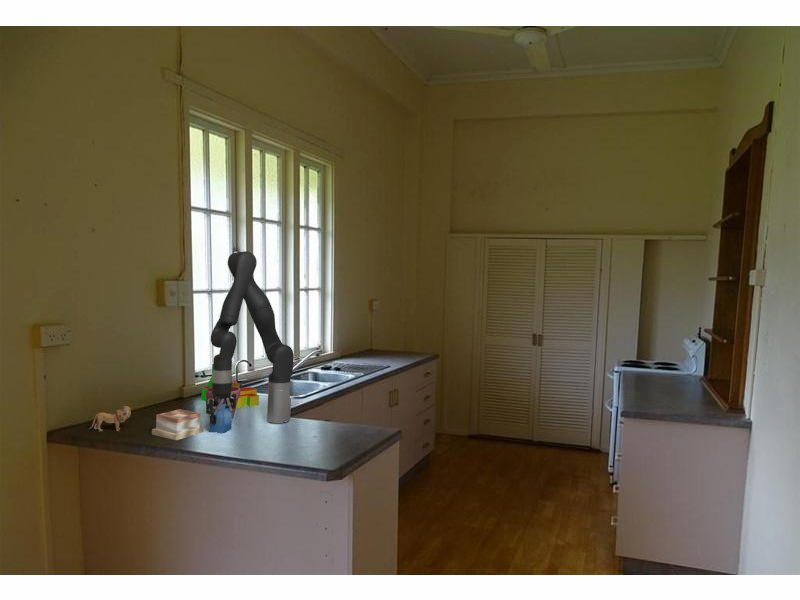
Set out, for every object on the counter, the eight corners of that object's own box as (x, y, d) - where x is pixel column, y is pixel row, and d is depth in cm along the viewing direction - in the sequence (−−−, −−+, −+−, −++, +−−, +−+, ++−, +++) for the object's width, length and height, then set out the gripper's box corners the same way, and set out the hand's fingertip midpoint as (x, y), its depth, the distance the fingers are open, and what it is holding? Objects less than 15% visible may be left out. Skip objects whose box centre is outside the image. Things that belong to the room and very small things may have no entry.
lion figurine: (131, 427, 215) (131, 404, 215) (129, 430, 210) (130, 407, 210) (89, 429, 210) (89, 405, 209) (86, 432, 205) (86, 409, 204)
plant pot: (197, 419, 230) (198, 389, 230) (220, 412, 243) (221, 383, 243) (224, 424, 225) (225, 393, 224) (246, 416, 238) (247, 387, 237)
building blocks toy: (226, 410, 248) (228, 370, 247) (201, 400, 265) (202, 362, 264) (262, 405, 261) (264, 367, 261) (236, 395, 279) (237, 360, 278)
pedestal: (179, 426, 218) (180, 408, 218) (203, 432, 212) (203, 413, 212) (151, 434, 207) (152, 414, 206) (176, 440, 201) (176, 420, 200)
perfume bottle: (223, 433, 212) (224, 403, 211) (209, 431, 213) (210, 401, 213) (231, 429, 218) (232, 399, 217) (217, 427, 219) (218, 398, 219)
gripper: (215, 384, 207) (214, 427, 207) (242, 379, 220) (240, 419, 220) (201, 382, 210) (199, 424, 211) (228, 377, 223) (226, 416, 224)
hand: (220, 422), depth 215 cm, fingers closed on perfume bottle, 7 cm apart
